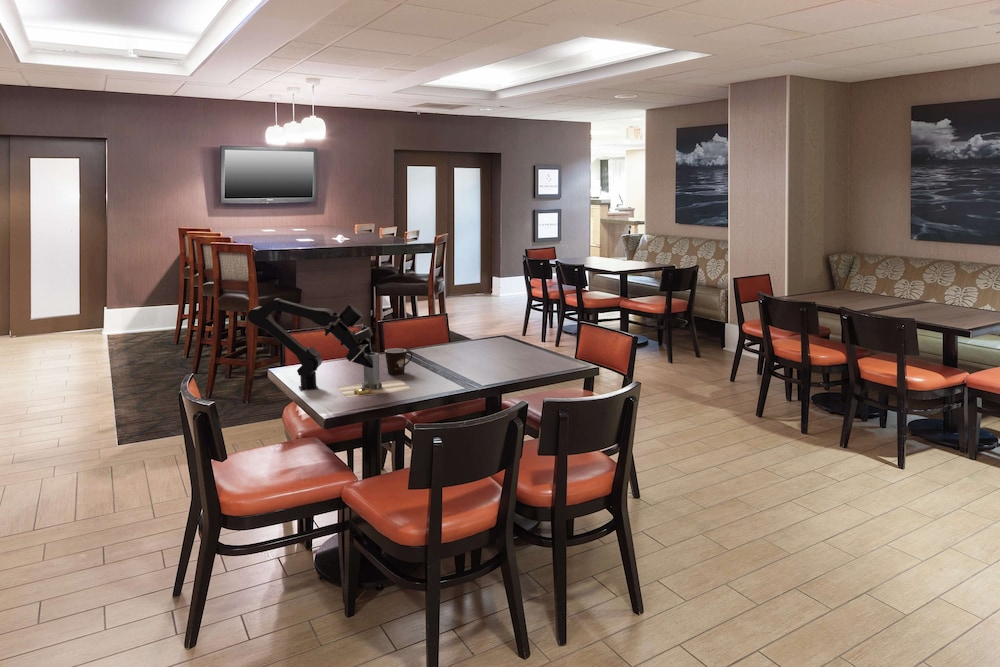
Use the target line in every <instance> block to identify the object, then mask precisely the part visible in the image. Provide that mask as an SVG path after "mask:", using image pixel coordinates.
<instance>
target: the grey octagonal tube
mask: <svg viewBox="0 0 1000 667" xmlns="http://www.w3.org/2000/svg"><path fill="white" fill-rule="evenodd" d="M379 354H380V353H378V352H373V351H372V352H369V353H365V356H366V357H367V358H368V360H369V361H370V362H371V363H372V365H373V368H369V367H366V366H363V382H361V384H362V388H363V387H364V388H366V387H368V388H369V389H371V388H372V390H374V389H376V390H378V389H379V388H382V383H381V382H382V381H381V380H380V379H381V378H380V355H379Z"/></svg>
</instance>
